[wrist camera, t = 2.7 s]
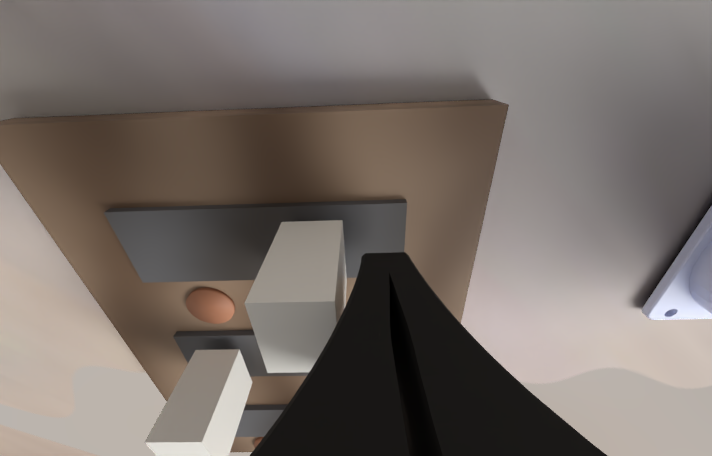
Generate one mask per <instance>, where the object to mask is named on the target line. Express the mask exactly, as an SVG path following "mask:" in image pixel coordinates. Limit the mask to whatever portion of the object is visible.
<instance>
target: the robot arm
mask: <svg viewBox="0 0 712 456" xmlns="http://www.w3.org/2000/svg"><path fill="white" fill-rule="evenodd" d="M642 313H643V314H644V315H645V316H646V317H648V318H649V319H652V320H670V319H712V205H711V207H710V208H709V210H708V211H707V213H706V214H705V216H704V217H703V219H702V220H701V222H700V223H699V225H698V226H697V228H696V229H695V231H694V232H693V234H692V235H691V237H690V238H689V240H688V241H687V242H686V244H685V245H684V247H683V248H682V250H681V251H680V253H679V254H678V256H677V257H676V259H675V260H674V262H673V263H672V265H671V266H670V268H669V269H668V271H667V272H666V274H665V275H664V277H663V278H662V280H661V281H660V283H659V284H658V285H657V287H656V288H655V290H654V291H653V293H652V294H651V296H650V297H649V299H648V300H647V302H646V303H645V305H644V306H643V308H642ZM250 456H607V455H606V454H604V453H603V452H602V451H601V450H599V449H598V448H597V447H595V446H594V445H593V444H592V443H590V442H589V441H588V440H587V439H585V438H584V437H583V436H582V435H581V434H580V433H578V432H577V431H576V430H575V429H573V428H572V427H571V426H570V425H569V424H568V423H566V422H565V421H564V420H563V419H562V418H560V417H559V416H558V415H557V414H556V413H554V412H553V411H552V410H551V409H550V408H549V407H547V406H546V405H545V404H544V403H542V402H541V401H540V400H539V399H538V398H537V397H535V396H534V395H533V394H532V393H531V392H530V391H528V390H527V389H526V388H525V387H524V386H523V385H522V384H521V383H520V382H519V381H518V380H516V379H515V378H514V377H513V376H512V375H511V374H510V373H509V372H508V371H507V370H506V369H504V368H503V367H502V366H501V365H500V364H499V363H498V362H497V361H496V360H495V359H494V358H493V357H492V356H491V355H490V354H489V353H488V352H487V351H486V350H485V349H484V348H483V347H482V346H481V345H480V344H479V343H478V342H477V341H476V340H475V339H474V338H473V337H472V335H471V334H470V333H469V332H468V331H467V330H466V329H465V328H464V327H463V326H462V325H461V323H460V322H459V321H458V320H457V319H456V318H455V317H454V316H453V314H452V313H451V312H450V311H449V310H448V308H447V307H446V306H445V305H444V304H443V302H442V301H441V300H440V299H439V297H438V296H437V295H436V294H435V292H434V291H433V290H432V289H431V287H430V286H429V285H428V283H427V282H426V281H425V279H424V278H423V276H422V275H421V274H420V272H419V271H418V269H417V268H416V266H415V265H414V263H413V262H412V260H411V259H410V257H409V255H408V254H407V253H405V252H393V253H365V254H364V255H363V256H362V257H361V264H360V269H359V272H358V276H357V278H356V281H355V284H354V287H353V289H352V292H351V294H350V297H349V299H348V302H347V304H346V306H345V308H344V311H343V313H342V315H341V317H340V319H339V321H338V323H337V325H336V327H335V329H334V331H333V333H332V335H331V336H330V338H329V340H328V342H327V344H326V345H325V347H324V349H323V351H322V352H321V354H320V356H319V357H318V359H317V361H316V362H315V364H314V366H313V367H312V369H311V370H310V372H309V374H308V375H307V377H306V378H305V380H304V381H303V383H302V384H301V386H300V387H299V389H298V390H297V392H296V393H295V395H294V396H293V398H292V399H291V401H290V402H289V404H288V405H287V406H286V408H285V409H284V411H283V412H282V414H281V415H280V416H279V418H278V419H277V420H276V422H275V423H274V424H273V426H272V427H271V428H270V430H269V431H268V432H267V434H266V435H265V436H264V438H263V439H262V440H261V442H260V443H259V444H258V445H257V447H256V448H255V449H254V451H253V452H252V453H251V455H250Z"/></svg>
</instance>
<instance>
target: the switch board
mask: <svg viewBox="0 0 712 456" xmlns="http://www.w3.org/2000/svg"><path fill="white" fill-rule="evenodd" d="M508 106H509V105H508V104H505V103H502V102H499V101H496V100H493V99H487V100H462V101H437V102H412V103H387V104H362V105H337V106H311V107H286V108H261V109H236V110H211V111H186V112H161V113H136V114H110V115H85V116H60V117H35V118H13V119H8V120H3V121H0V164H1V166H2V167H3V168H4V170H5V171H6V173H7V174H8V176H9V177H10V178H11V180H12V181H13V183H14V184H15V186H16V187H17V188H18V190H19V191H20V193H21V194H22V196H23V197H24V198H25V200H26V201H27V203H28V204H29V206H30V207H31V208H32V210H33V211H34V213H35V214H36V216H37V217H38V218H39V220H40V221H41V223H42V224H43V225H44V227H45V228H46V230H47V231H48V233H49V234H50V235H51V237H52V238H53V240H54V241H55V243H56V244H57V245H58V247H59V248H60V250H61V251H62V253H63V254H64V255H65V257H66V258H67V260H68V261H69V263H70V264H71V265H72V267H73V268H74V270H75V271H76V273H77V274H78V275H79V277H80V278H81V280H82V281H83V283H84V284H85V285H86V287H87V288H88V290H89V291H90V293H91V294H92V295H93V297H94V298H95V300H96V301H97V303H98V304H99V305H100V307H101V308H102V310H103V311H104V313H105V314H106V315H107V317H108V318H109V320H110V321H111V323H112V324H113V325H114V327H115V328H116V330H117V331H118V333H119V334H120V335H121V337H122V338H123V340H124V341H125V343H126V344H127V345H128V347H129V348H130V350H131V351H132V352H133V354H134V355H135V357H136V358H137V360H138V361H139V362H140V364H141V365H142V367H143V368H144V370H145V371H146V372H147V374H148V375H149V377H150V378H151V380H152V381H153V382H154V384H155V385H156V387H157V388H158V389H159V391H160V392H161V394H162V395H163V397H164V398H165V400H166V401H168V399H169V397H170V395H171V394H172V392H173V390H174V388H175V386H176V385H177V383H178V381H179V379H180V377H181V376H182V374H183V372H184V370H185V368H186V366H187V365H188V363H189V361H190V359H191V357H192V356H193V354H194V352H195V350H225V349H240V352H241V354H242V357H243V360H244V362H245V365H246V367H247V370H248V372H249V375H250V378H251V380H252V386H251V389H250V392H249V395H248V398H247V401H246V404H245V407H244V410H243V413H242V417H241V420H240V423H239V426H238V429H237V432H236V435H235V438H234V441H233V444H232V447H231V451H230V452H253V451H254V449H255V448H256V447H257V445H258V444H259V443H260V442H261V440H262V439H263V438H264V436H265V435H266V434H267V432H268V431H269V430H270V428H271V427H272V426H273V424H274V423H275V422H276V420H277V419H278V418H279V416H280V415H281V414H282V412H283V411H284V409H285V408H286V406H287V405H288V404H289V402H290V401H291V399H292V398H293V396H294V395H295V393H296V392H297V390H298V389H299V387H300V386H301V384H302V383H303V381H304V380H305V378H306V377H307V375H308V374H309V372H299V373H267V370H266V367H265V364H264V361H263V358H262V355H261V352H260V349H259V346H258V343H257V340H256V337H255V334H254V331H253V328H252V325H251V322H250V319H249V316H248V313H247V310H246V307H245V304H244V303H245V301H246V299H247V296H248V294H249V292H250V290H251V288H252V285H253V283H254V281H255V279H256V277H257V275H258V272H259V270H260V268H261V266H262V264H263V262H264V259H265V257H266V255H267V253H268V251H269V249H270V246H271V244H272V242H273V240H274V238H275V235H276V233H277V231H278V229H279V227H280V225H281V222H295V221H329V220H343V234H344V248H345V262H346V276H347V287H346V304H347V302H348V299H349V297H350V294H351V292H352V289H353V287H354V284H355V281H356V278H357V276H358V272H359V269H360V264H361V257H362V256H363V255H364V254H365V253H393V252H405V253H407V254H408V255H409V257H410V259H411V260H412V262H413V263H414V265H415V266H416V268H417V269H418V271H419V272H420V274H421V275H422V276H423V278H424V279H425V281H426V282H427V283H428V285H429V286H430V287H431V289H432V290H433V291H434V292H435V294H436V295H437V296H438V297H439V299H440V300H441V301H442V302H443V304H444V305H445V306H446V307H447V308H448V310H449V311H450V312H451V313H452V314H453V316H454V317H455V318H456V319H457V320H458V321H459V322H460V323H461V319H462V314H463V310H464V305H465V301H466V296H467V291H468V287H469V282H470V278H471V273H472V269H473V264H474V260H475V255H476V251H477V246H478V242H479V237H480V233H481V228H482V224H483V219H484V214H485V210H486V205H487V201H488V196H489V192H490V187H491V183H492V178H493V174H494V169H495V165H496V160H497V156H498V151H499V146H500V142H501V137H502V133H503V128H504V124H505V119H506V115H507V110H508Z"/></svg>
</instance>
